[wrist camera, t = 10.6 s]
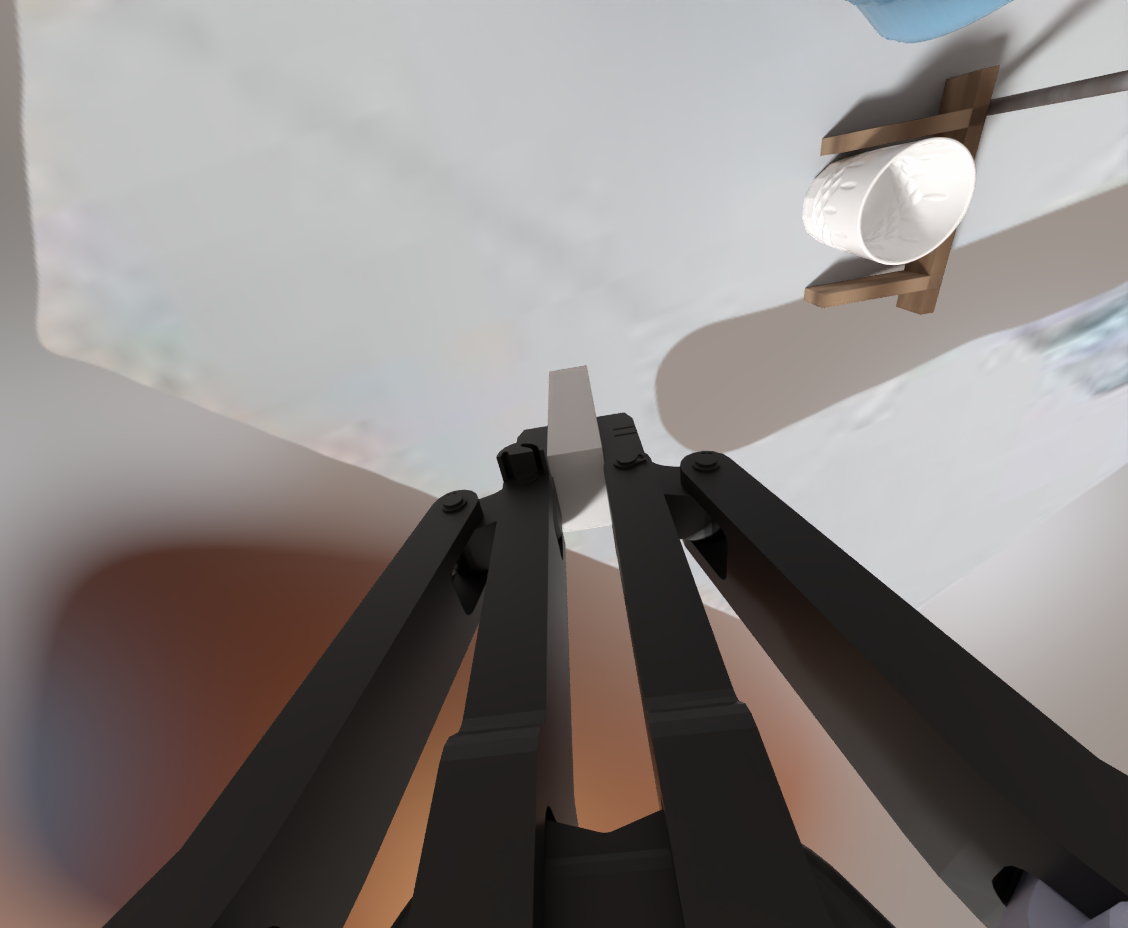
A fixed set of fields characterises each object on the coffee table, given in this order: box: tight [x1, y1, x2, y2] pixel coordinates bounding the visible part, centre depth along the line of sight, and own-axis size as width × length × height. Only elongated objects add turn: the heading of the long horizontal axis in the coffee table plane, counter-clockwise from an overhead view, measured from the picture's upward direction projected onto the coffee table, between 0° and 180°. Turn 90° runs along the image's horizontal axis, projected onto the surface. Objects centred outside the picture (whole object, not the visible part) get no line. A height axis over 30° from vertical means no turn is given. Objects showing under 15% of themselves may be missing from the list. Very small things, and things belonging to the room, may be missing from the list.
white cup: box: [802, 137, 976, 265], centre depth 35 cm, size 8×8×10 cm
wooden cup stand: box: [804, 65, 1128, 315], centre depth 33 cm, size 12×20×16 cm, turn 10°
